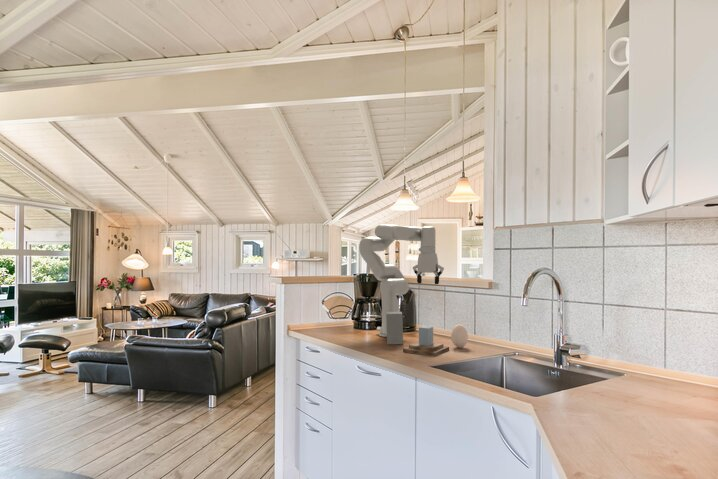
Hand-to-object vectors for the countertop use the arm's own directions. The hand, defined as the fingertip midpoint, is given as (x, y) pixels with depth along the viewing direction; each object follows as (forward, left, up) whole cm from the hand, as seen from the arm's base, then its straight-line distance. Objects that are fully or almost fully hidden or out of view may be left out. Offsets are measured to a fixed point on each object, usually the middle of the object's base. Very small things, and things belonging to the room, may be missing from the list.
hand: (428, 283), depth 227 cm
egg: (+18, -3, -30) cm, 35 cm away
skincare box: (-13, -12, -30) cm, 35 cm away
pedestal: (+8, -19, -30) cm, 36 cm away
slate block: (+8, -19, -27) cm, 34 cm away
